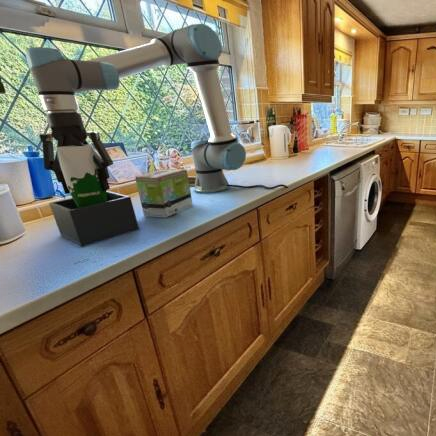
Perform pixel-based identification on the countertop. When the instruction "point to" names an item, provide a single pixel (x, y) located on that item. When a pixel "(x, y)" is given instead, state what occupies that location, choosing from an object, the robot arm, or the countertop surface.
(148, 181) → the tea box
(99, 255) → the countertop surface
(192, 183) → the toy sandwich meal
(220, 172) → the robot arm
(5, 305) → the countertop surface
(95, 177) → the soya milk
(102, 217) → the waste bin
